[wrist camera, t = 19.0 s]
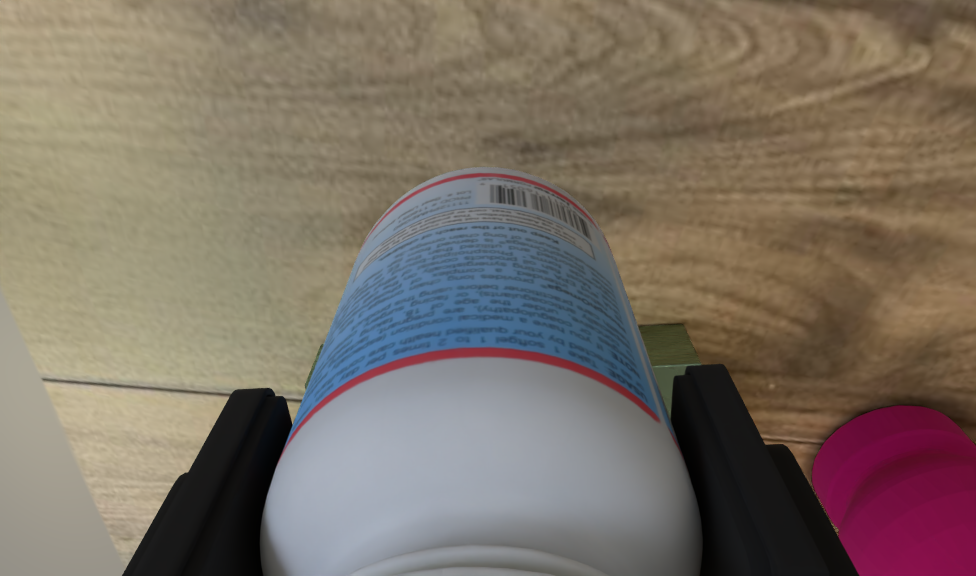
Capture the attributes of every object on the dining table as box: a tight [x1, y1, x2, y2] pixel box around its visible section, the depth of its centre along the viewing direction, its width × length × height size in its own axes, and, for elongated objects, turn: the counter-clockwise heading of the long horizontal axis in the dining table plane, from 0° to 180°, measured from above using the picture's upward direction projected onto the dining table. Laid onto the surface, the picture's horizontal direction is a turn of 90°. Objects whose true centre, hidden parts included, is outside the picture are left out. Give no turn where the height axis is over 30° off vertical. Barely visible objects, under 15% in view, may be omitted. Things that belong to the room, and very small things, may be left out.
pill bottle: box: [260, 167, 703, 576], centre depth 12 cm, size 6×6×11 cm
